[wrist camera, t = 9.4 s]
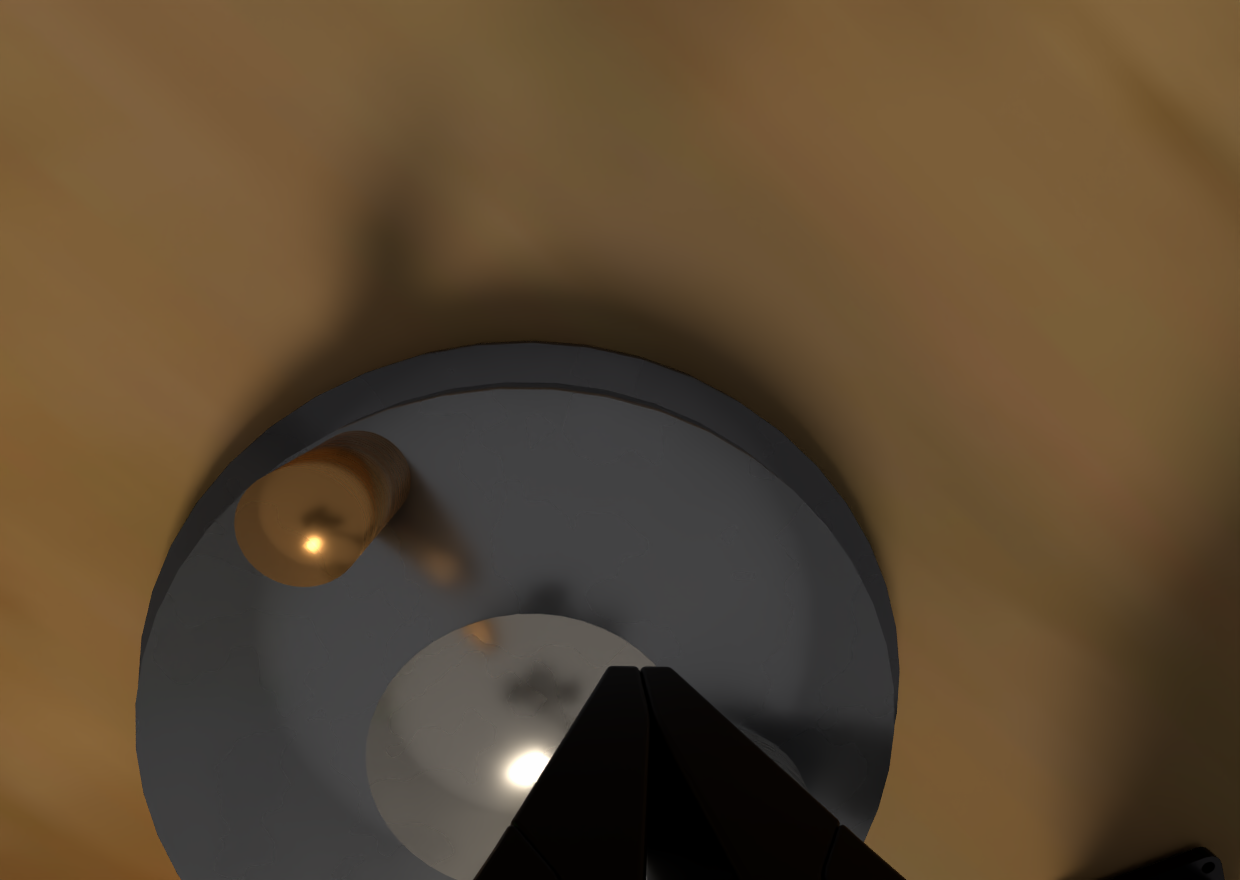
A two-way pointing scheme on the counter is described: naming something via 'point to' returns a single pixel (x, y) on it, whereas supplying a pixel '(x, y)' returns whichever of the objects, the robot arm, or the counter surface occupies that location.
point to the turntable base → (535, 367)
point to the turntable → (486, 631)
